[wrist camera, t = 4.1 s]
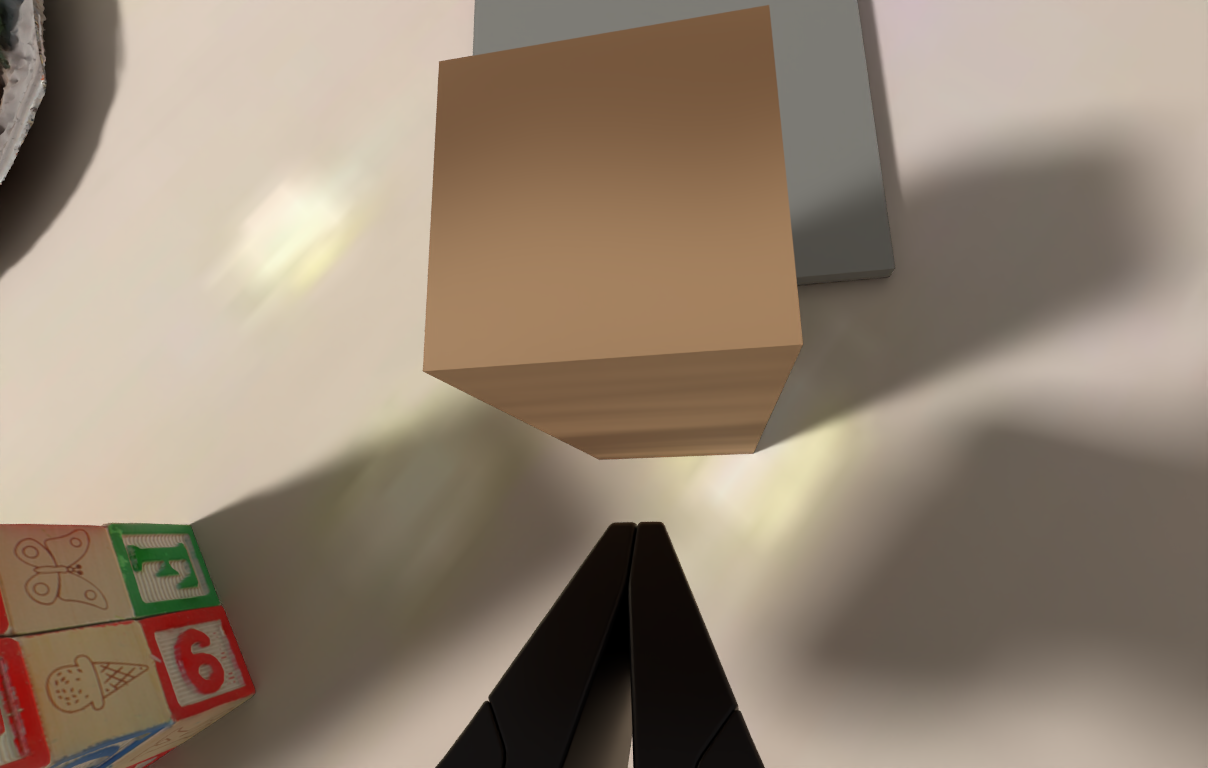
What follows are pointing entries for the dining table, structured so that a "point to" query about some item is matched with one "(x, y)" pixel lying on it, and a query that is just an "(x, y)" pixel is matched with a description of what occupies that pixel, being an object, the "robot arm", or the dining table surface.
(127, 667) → the stack of blocks
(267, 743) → the dining table surface
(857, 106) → the mat
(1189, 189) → the dining table surface
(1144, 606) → the dining table surface
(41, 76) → the food plate
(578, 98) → the walnut block
